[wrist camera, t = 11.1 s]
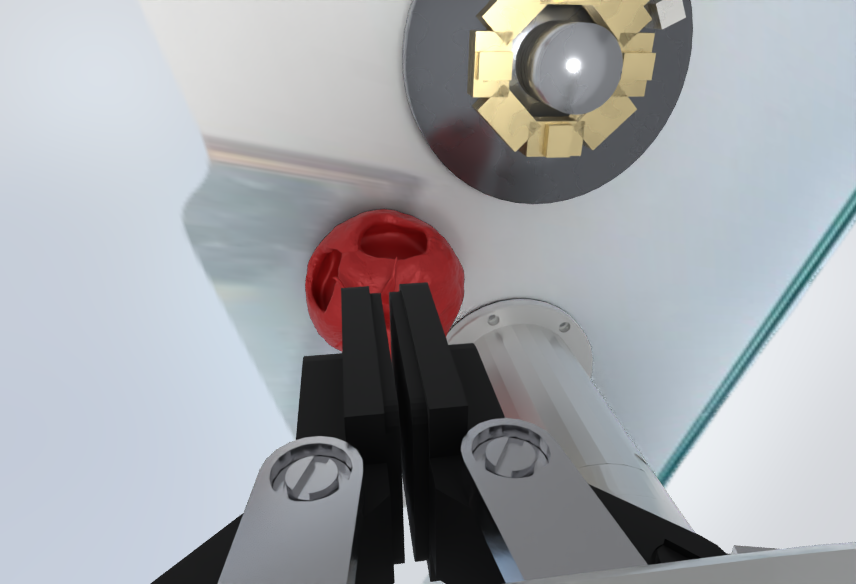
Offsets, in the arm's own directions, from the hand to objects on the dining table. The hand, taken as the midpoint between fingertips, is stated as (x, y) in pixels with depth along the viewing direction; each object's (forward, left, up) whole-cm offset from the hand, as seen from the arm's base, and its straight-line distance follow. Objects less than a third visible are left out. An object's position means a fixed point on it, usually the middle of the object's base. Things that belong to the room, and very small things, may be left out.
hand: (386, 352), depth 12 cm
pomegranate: (-10, +2, -27) cm, 29 cm away
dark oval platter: (-1, -12, -27) cm, 30 cm away
